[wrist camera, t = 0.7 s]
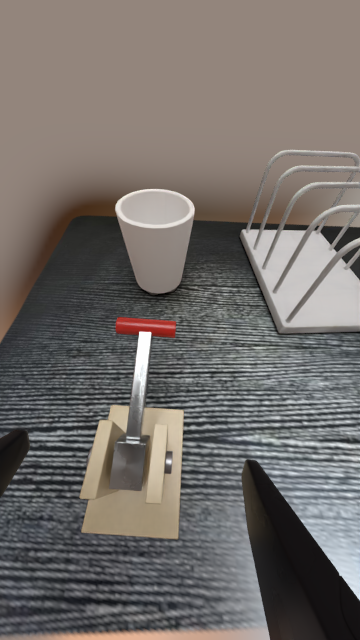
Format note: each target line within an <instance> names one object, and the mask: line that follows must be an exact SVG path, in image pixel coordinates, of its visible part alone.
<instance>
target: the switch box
mask: <svg viewBox="0 0 360 640" xmlns="http://www.w3.org/2000/svg"><path fill="white" fill-rule="evenodd" d="M128 414H129V406H119V405H111V409H110V413H109V417H108V420H100V421H99V424H98V428H97V432H96V436H95V440H94V443H93V446H92V447H91V449H90V451H89V454H88V457H87V470H86V474H85V478H84V482H83V486H82V489H81V493H80V499H89V501H88V505H87V509H86V513H85V517H84V522H83V526H82V530H81V533H94V534H108V535H123V536H137V537H151V538H166V539H178V534H179V511H180V488H181V465H182V442H183V420H184V410H175V409H161V408H147V407H145V414H144V423H143V432H142V435H150V442H149V452H148V462H147V473H146V478H145V481H144V484H143V488H142V491H133V490H119V489H109V481H110V474H111V467H112V460H113V453H114V446H115V441H116V440H117V439H118V438H119V437H120V436H121V435H122V434H123V433H125V434H126V430H127V422H128Z"/></svg>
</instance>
